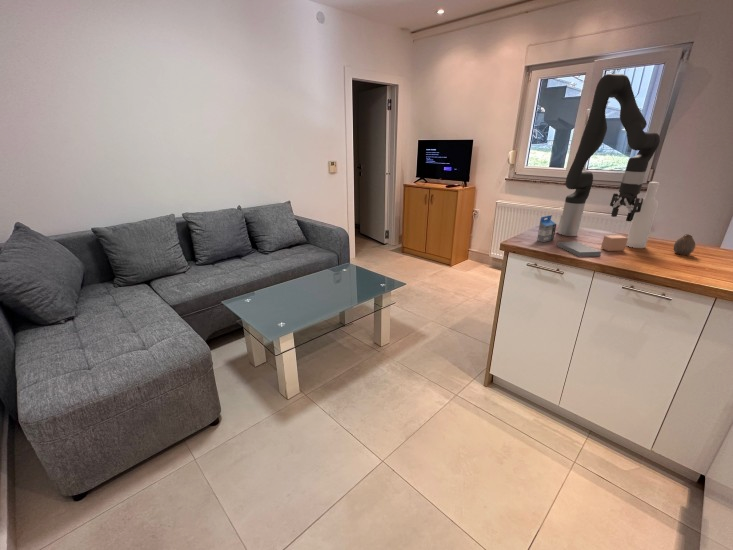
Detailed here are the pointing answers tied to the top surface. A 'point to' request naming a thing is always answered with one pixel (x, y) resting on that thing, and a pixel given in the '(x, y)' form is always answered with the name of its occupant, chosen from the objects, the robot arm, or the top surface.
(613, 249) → the tan rectangular block
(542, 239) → the label tape box
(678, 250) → the grey pear shaped lump
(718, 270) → the top surface
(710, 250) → the top surface
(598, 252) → the board
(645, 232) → the bottle
